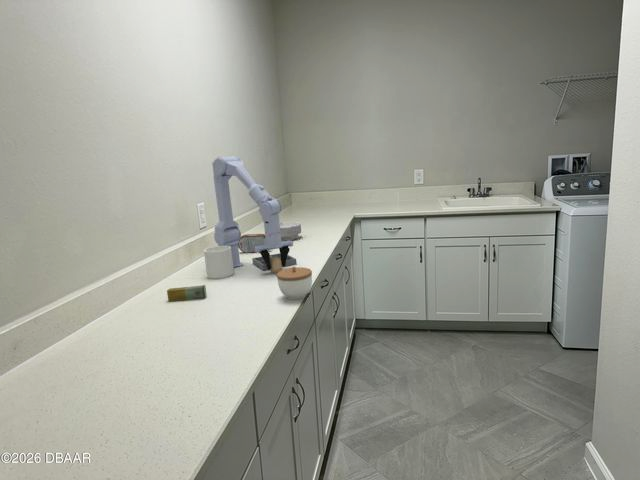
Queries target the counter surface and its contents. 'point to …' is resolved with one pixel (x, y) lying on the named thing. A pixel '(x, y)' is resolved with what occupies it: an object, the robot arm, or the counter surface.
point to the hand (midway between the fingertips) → (276, 267)
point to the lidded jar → (295, 282)
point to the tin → (251, 242)
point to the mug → (219, 262)
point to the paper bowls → (289, 230)
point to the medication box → (187, 293)
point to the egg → (275, 264)
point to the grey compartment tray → (261, 263)
